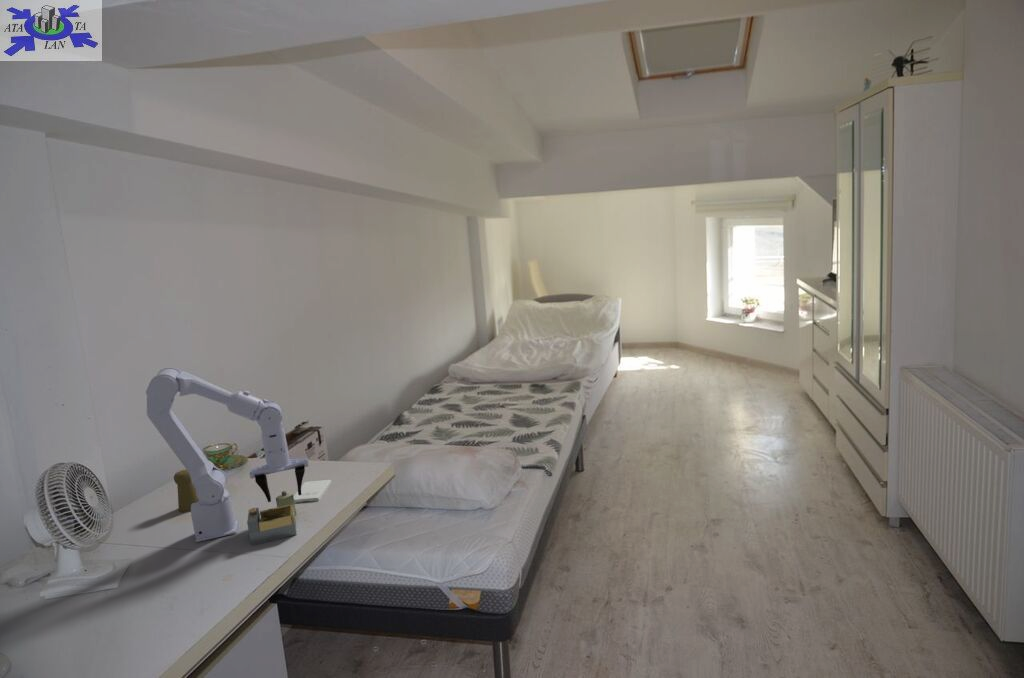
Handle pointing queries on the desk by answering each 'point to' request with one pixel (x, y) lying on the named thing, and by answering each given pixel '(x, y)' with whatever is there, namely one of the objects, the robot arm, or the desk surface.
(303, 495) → the external hard drive
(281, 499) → the spout can
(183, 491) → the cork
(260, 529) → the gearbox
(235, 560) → the desk surface
